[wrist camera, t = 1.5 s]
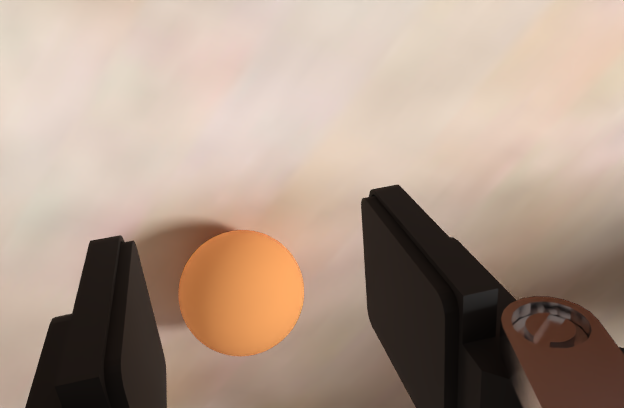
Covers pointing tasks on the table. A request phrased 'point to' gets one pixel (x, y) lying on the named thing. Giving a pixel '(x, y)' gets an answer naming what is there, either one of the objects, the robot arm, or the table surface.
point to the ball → (241, 293)
